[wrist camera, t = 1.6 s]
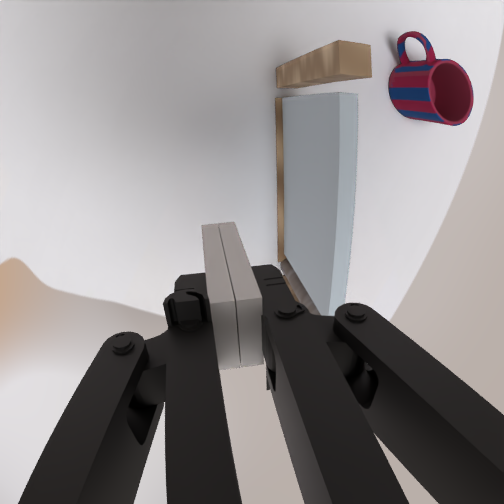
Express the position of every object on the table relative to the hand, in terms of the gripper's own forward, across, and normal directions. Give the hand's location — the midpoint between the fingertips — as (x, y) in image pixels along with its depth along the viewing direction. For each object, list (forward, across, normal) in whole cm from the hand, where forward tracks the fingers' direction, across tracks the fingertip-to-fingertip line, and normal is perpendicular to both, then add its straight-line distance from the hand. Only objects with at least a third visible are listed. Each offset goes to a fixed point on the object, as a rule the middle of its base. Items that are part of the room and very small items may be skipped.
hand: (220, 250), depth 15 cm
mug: (+17, +22, +11) cm, 30 cm away
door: (+16, +9, 0) cm, 18 cm away
